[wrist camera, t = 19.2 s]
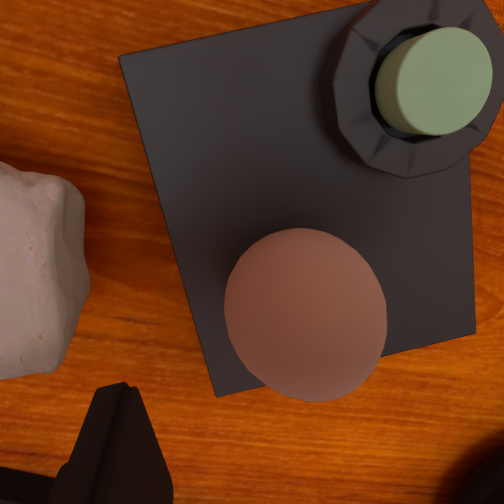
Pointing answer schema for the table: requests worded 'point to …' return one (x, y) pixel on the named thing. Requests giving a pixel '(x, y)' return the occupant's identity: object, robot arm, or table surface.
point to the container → (484, 483)
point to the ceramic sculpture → (39, 270)
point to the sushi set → (23, 487)
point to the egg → (306, 314)
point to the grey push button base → (312, 162)
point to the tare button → (434, 82)
